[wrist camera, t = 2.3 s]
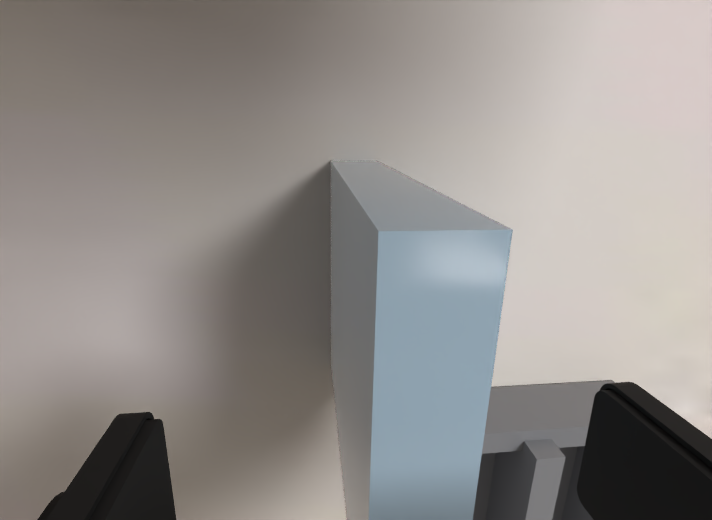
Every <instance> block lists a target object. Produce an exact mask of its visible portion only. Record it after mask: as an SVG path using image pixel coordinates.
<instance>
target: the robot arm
mask: <svg viewBox="0 0 712 520" xmlns="http://www.w3.org/2000/svg"><path fill="white" fill-rule="evenodd" d="M577 494H578V497H579V500H580V502H581V504H582V505H583V507H584V508H585V509H586V511H587V512H588V513H589V514H590V516H591V517H592V518H593V520H712V439H711V438H709V437H708V436H707V435H705V434H704V433H703V432H701V431H700V430H698V429H697V428H696V427H694V426H693V425H692V424H690V423H689V422H687V421H686V420H685V419H683V418H682V417H681V416H679V415H678V414H677V413H675V412H674V411H672V410H671V409H670V408H668V407H667V406H666V405H664V404H663V403H661V402H660V401H659V400H657V399H656V398H655V397H653V396H652V395H650V394H649V393H648V392H646V391H645V390H644V389H642V388H641V387H640V386H638V385H636V384H635V383H632V382H621V383H607V384H604V385H603V386H602V387H601V388H600V391H598V392H597V393H596V394H595V397H594V402H593V407H592V412H591V417H590V422H589V427H588V432H587V437H586V442H585V447H584V452H583V457H582V463H581V468H580V473H579V478H578V483H577ZM38 520H176V515H175V507H174V500H173V493H172V485H171V478H170V471H169V463H168V456H167V449H166V441H165V434H164V427H163V422H162V420H161V419H154V417H153V415H152V413H150V412H142V413H126V414H119V415H117V416H116V418H115V419H114V420H113V422H112V423H111V425H110V426H109V428H108V429H107V431H106V432H105V433H104V435H103V436H102V438H101V439H100V441H99V442H98V444H97V445H96V447H95V448H94V450H93V451H92V453H91V454H90V455H89V457H88V458H87V460H86V461H85V463H84V464H83V466H82V467H81V469H80V470H79V472H78V473H77V475H76V476H75V478H74V479H73V480H72V482H71V483H70V485H69V486H68V488H67V489H66V491H65V492H62V493H60V494H58V495H57V496H55V497H54V498H53V500H52V501H51V502H50V503H49V504H48V505H47V507H46V508H45V510H44V511H43V513H42V514H41V515H40V517H39V518H38Z"/></svg>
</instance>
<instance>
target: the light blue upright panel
mask: <svg viewBox="0 0 712 520" xmlns="http://www.w3.org/2000/svg"><path fill="white" fill-rule="evenodd" d="M512 231H513V230H512V229H510V228H508V227H506V226H504V225H502V224H500V223H499V222H497V221H495V220H493V219H491V218H489V217H487V216H485V215H483V214H481V213H479V212H477V211H475V210H473V209H471V208H469V207H467V206H465V205H463V204H461V203H459V202H457V201H455V200H453V199H451V198H449V197H447V196H445V195H444V194H442V193H440V192H438V191H436V190H434V189H432V188H430V187H428V186H426V185H424V184H422V183H420V182H418V181H416V180H414V179H412V178H410V177H408V176H406V175H404V174H402V173H400V172H398V171H396V170H394V169H392V168H390V167H389V166H387V165H385V164H383V163H381V162H379V161H331V371H332V381H333V391H334V401H335V410H336V420H337V430H338V440H339V449H340V459H341V469H342V479H343V489H344V498H345V508H346V518H347V520H473V514H474V507H475V499H476V492H477V485H478V478H479V470H480V463H481V456H482V449H483V441H484V434H485V427H486V419H487V412H488V405H489V398H490V390H491V383H492V376H493V369H494V361H495V354H496V347H497V340H498V332H499V325H500V318H501V311H502V303H503V296H504V289H505V282H506V274H507V267H508V260H509V253H510V245H511V238H512Z"/></svg>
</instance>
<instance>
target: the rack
mask: <svg viewBox="0 0 712 520" xmlns="http://www.w3.org/2000/svg"><path fill="white" fill-rule="evenodd" d="M607 383H615V382H614V381H612V380H608V381H590V382H573V383H555V384H538V385H521V386H503V387H491V390H490V398H489V405H488V412H487V419H486V427H485V434H484V441H483V449H482V456H481V463H480V470H479V478H478V485H477V492H476V499H475V507H474V514H473V520H593V518H592V517H591V516H590V514H589V513H588V512H587V511H586V509H585V508H584V507H583V505H582V504H581V502H580V500H579V497H578V494H577V483H578V478H579V473H580V468H581V463H582V457H583V452H584V447H585V442H586V437H587V432H588V427H589V422H590V417H591V412H592V407H593V402H594V397H595V394H596V393H597V392H598V391H600V388H601V387H602V386H603V385H604V384H607Z"/></svg>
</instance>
